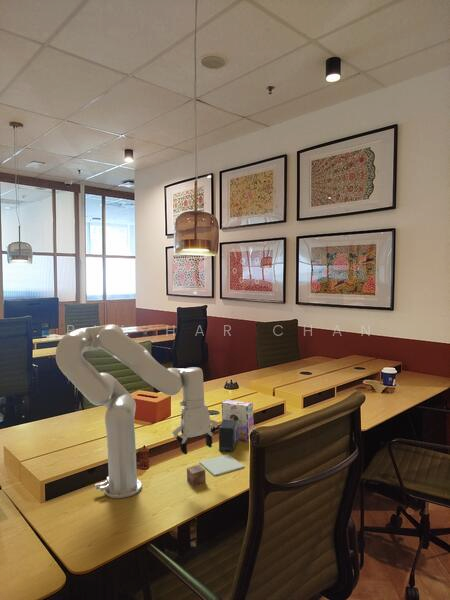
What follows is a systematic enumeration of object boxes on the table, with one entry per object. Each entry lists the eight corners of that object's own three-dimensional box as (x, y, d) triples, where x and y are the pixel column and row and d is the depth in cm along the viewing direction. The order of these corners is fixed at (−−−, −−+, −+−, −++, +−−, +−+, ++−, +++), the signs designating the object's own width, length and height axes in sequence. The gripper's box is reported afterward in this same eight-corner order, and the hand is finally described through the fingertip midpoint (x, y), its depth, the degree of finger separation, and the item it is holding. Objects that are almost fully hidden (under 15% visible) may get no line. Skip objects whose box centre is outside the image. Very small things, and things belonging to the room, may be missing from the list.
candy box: (254, 438, 186) (253, 402, 185) (248, 442, 181) (247, 406, 180) (228, 432, 193) (227, 398, 193) (222, 437, 188) (221, 402, 188)
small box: (233, 452, 171) (233, 428, 170) (218, 451, 172) (217, 427, 172) (238, 442, 181) (237, 419, 181) (223, 442, 182) (223, 419, 182)
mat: (214, 476, 150) (214, 474, 150) (199, 463, 162) (199, 461, 162) (244, 467, 157) (244, 466, 156) (227, 455, 168) (227, 454, 168)
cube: (192, 487, 143) (192, 473, 143) (187, 481, 147) (186, 467, 147) (205, 483, 145) (205, 469, 145) (199, 477, 150) (199, 464, 149)
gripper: (175, 410, 138) (178, 459, 138) (220, 400, 146) (223, 447, 147) (167, 404, 144) (170, 452, 145) (210, 395, 152) (213, 440, 153)
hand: (196, 449), depth 146 cm, fingers open, 9 cm apart
